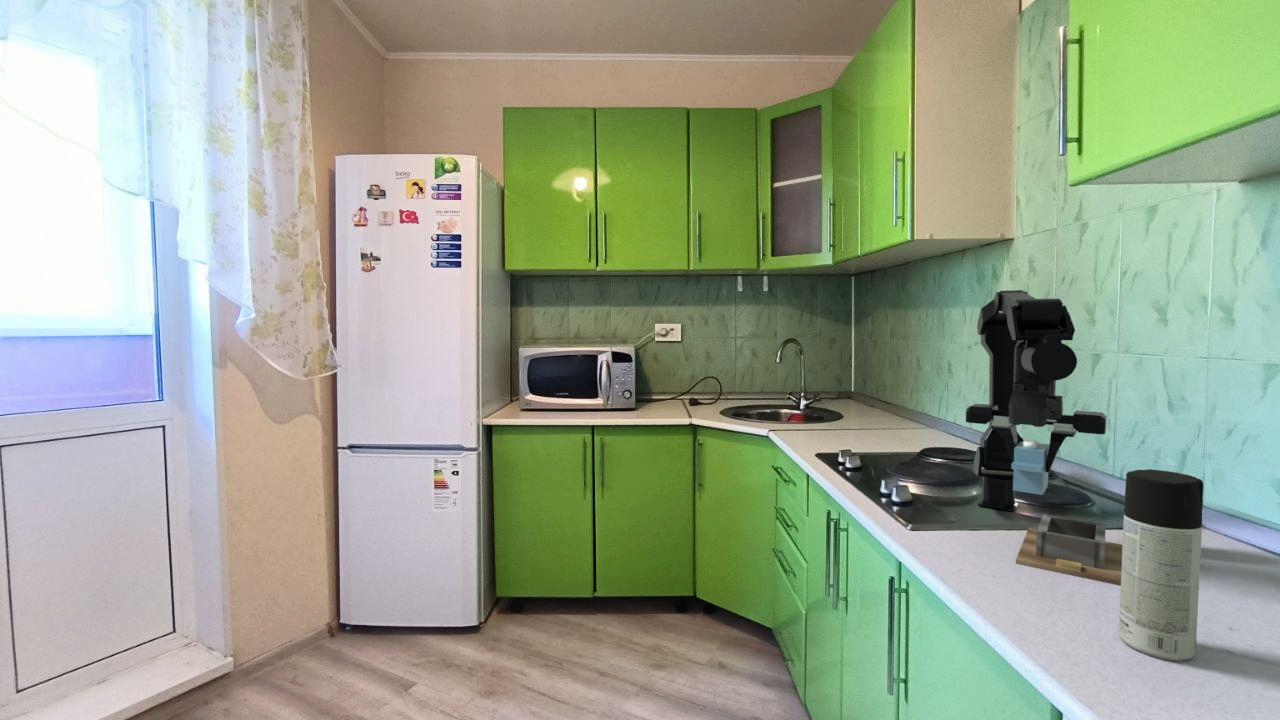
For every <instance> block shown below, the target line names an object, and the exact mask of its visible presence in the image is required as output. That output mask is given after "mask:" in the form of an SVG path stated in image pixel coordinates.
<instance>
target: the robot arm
mask: <svg viewBox="0 0 1280 720" xmlns="http://www.w3.org/2000/svg"><path fill="white" fill-rule="evenodd" d="M1067 308H1068V307H1067V306H1066V305H1064V304H1063V301H1062V300H1061V299H1060V298H1036V297H1034V296H1033V295H1030V294H1028V292H1027V291H1023V290H1021V289H1019V290H1018V289H1017V290H1015V289H1014V290H999V291H997V292H995V293H994V297H993V299H992V300H991V301H990V302H988V303H987V304H986V305H984V306H983V307H982V308H980V311H979V314H978V318H977V319H978V320H977V325H976V326H977V335H980V344H981V346H982V347H983V349H984V350H985V351H986V353H987V354H988V356H989V372H988V373H989V376H988V377H989V380H988V381H989V385H988V387H989V395H988V396H989V397H988V398H989V400H988V401H989V402H988V403H989V404H987V403H974V404H972V405H970V406H968V408H966V412H965V423H968V424H969V423H970V424H981V425H987V424H988V427H987V428H986V430H985V431H984V433H983V434H982V436H981V437H980V439H979V442H980V443H979V446H977V448H976V452H975V456H974V457H973V458H974V459H973V472H974V474H975V475H976V476H977V477H979V478H981V477H982V485H981V487H982V488H981V489H982V491H981V492H982V493H981V498H980V499H979V501H978V502H977V506H978V507H983V508H990V509H997V510H1001V511H1002V510H1003V511H1006V512H1007V511H1009V512H1016V510H1017V508H1016V506H1014V504H1015V501H1016V500H1015V499H1016V498H1015V497H1016V491H1013V474H1014V469H1011V464H1012V463H1013V462H1014V448H1015V447H1016V446H1017V445H1018V444H1019V443H1020V442H1023V441H1025V440H1024V438H1023V437H1021V435H1020V434H1019V432H1018V431H1017V430H1018V429H1017V426H1020V425H1027V426H1032V427H1035V428H1041V427H1045V426H1046V425H1049V426H1050V425H1051V426H1053V429H1052V431H1051V432H1050V437H1049V438H1050V439H1049V440H1050V441H1049V450H1048V455H1047V461H1046V472H1048V473H1049V472H1050V471H1051V469H1052V467H1053V464H1054V463H1055V462H1054V461H1055V460H1056V457H1057V455H1058V452H1059V450H1060V448H1061V446H1062V445H1063V443H1064V441H1065V440H1066V439H1067V438H1074V437H1075V436H1076V434H1077V432H1078V433H1082V434H1090V435H1105V434H1106V432H1107V420H1108V418H1107V415H1106V414H1105V413H1103V412H1100V411H1098V412H1097V411H1085V410H1074V412H1073V414H1063V411H1064V401H1063V396H1062V395H1056V385H1057V382H1056V381H1061V380H1063V379H1064V380H1065V379H1066V378H1069V376H1071V375H1072V374H1073V373H1074V372H1075V370H1076V368H1077V364H1078V358H1077V355H1076V352H1075V351H1074V350H1073V349H1072V348H1071V347H1070V346H1069V345H1067V344H1064V343H1063V342H1062V341H1073V339H1074V335H1075V331H1076V330H1075V329H1076V328H1075V326H1074V322H1073V320H1072V317H1071V315H1070V312H1069V311H1068V309H1067Z"/></svg>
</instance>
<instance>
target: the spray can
mask: <svg viewBox="0 0 1280 720" xmlns="http://www.w3.org/2000/svg"><path fill="white" fill-rule="evenodd" d="M1125 475H1126V476H1125V489H1124V491H1125V492H1124V505H1123V506H1124V509H1123V522H1122V523H1123V524H1122V526H1123V527H1122V545H1123V548H1122V572H1121V585H1120V596H1119V597H1120V601H1119V617H1118V618H1119V625H1118V627H1119V628H1118V632H1119V637H1120V639H1121V641H1122V643H1124V644H1125V645H1126V646H1128V647H1129V648H1132V649H1133V650H1136V651H1138V652H1141V653H1143V654H1145V655H1147V656H1151V657H1153V658H1156V659H1161V660H1164V659H1165V660H1164V661H1174V660H1175V662H1176V661H1177V662H1184V661H1191V660H1192V659H1193V658H1194V656H1195V655H1196V650H1197V637H1198V636H1197V635H1198V633H1197V632H1198V617H1199V615H1198V614H1199V613H1198V612H1199V611H1198V610H1199V595H1200V594H1199V593H1200V592H1199V591H1200V576H1201V574H1200V573H1201V572H1200V571H1201V555H1202V554H1201V553H1202V536H1203V535H1202V533H1203V531H1202V530H1203V506H1204V505H1203V501H1204V482H1203V480H1202V479H1201V478H1198V477H1196V476H1193V475H1190V474H1185V473H1180V472H1174V471H1169V470H1161V469H1151V468H1150V469H1148V468H1147V469H1135V470H1132V471H1131V470H1130V471H1127V472H1126V474H1125Z"/></svg>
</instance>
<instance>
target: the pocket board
mask: <svg viewBox="0 0 1280 720" xmlns="http://www.w3.org/2000/svg"><path fill="white" fill-rule="evenodd" d="M1106 527H1107V526H1106V523H1101V522H1100V523H1099V522H1094V521H1087V520H1082V519H1077V518H1071V517H1063V516H1057V515H1051V514H1045V513H1043V514H1042V517H1041V520H1040V522H1039V525H1038V528H1037V529H1036V528H1030V527H1028V528H1027V531H1026V533H1025V536H1024V539H1023V540H1022V543H1021V546H1020V549H1019V550H1018V551H1019V552H1018V553H1017V556H1016V558H1015V563H1016V564H1018V565H1023V566H1028V567H1032V568H1037V569H1042V570H1046V571H1050V572H1055V573H1059V574H1060V573H1061V574H1065V575H1071V576H1075V577H1079V578H1084V579H1088V580H1094V581H1099V582H1104V583H1109V584H1113V585H1118V586H1121V572H1122V548H1123V543H1122V544H1121V543H1115V542H1110V541H1106Z"/></svg>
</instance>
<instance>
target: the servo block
mask: <svg viewBox="0 0 1280 720" xmlns="http://www.w3.org/2000/svg"><path fill="white" fill-rule="evenodd" d="M1049 445H1050V443H1049V444H1048V443H1040V442H1038V441H1035V440H1024V441H1023V442H1020V443H1019V444H1018V445H1017V446H1016V447H1015V448H1014V462H1013V463H1012V464H1011V469H1014V474H1013V491H1015V492H1021V493H1028V494H1034V495H1044V493H1045V491H1046V490H1047V488H1048V487H1049V472H1046V461H1047V455H1048V450H1049Z"/></svg>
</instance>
